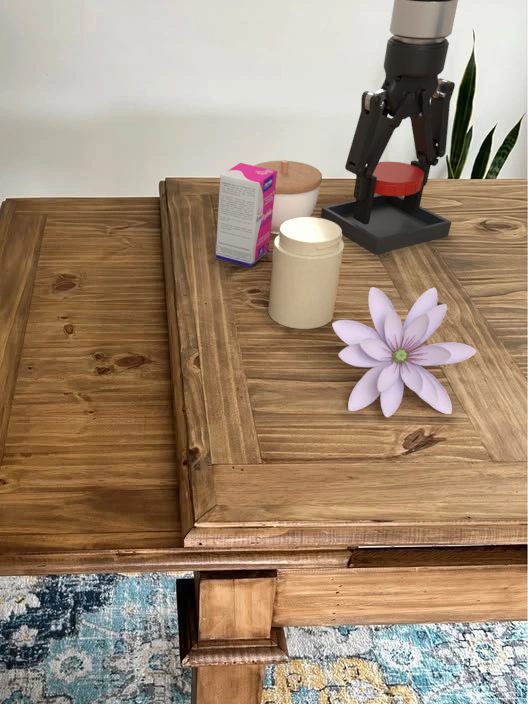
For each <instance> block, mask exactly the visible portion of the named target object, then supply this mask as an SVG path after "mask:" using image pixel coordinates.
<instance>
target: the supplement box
mask: <svg viewBox="0 0 528 704" xmlns="http://www.w3.org/2000/svg"><path fill="white" fill-rule="evenodd" d="M276 177H277V171H276V170H272V169H267V168H262V167H257V166H254V165H252V164H248V163H243V162H239V163H237V164H236V165H235V166H233V167H231V168H230V169H228V170H227V171H225V172H223V173H222V174H220V175H219V189H218V190H219V191H218V208H217V226H216V243H215V244H216V245H215V256H214V257H215V259H216V260H218V261H219V260H220V261H223V262H228V263H232V264H235V265H239V266H243V267H247V268H251V267H253V266H254V265H255V264H256V263H257V262H259V260H261V259H262V257H264V256H265V255H267V254H268V253H269V252H270V241H271V234H272V233H271V224H272V215H273V205H274V196H275V186H276Z"/></svg>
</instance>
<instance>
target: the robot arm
mask: <svg viewBox="0 0 528 704" xmlns="http://www.w3.org/2000/svg"><path fill="white" fill-rule="evenodd" d="M458 3H459V0H393V5H392V6H393V7H392V12H391V18H390V25H389V32H390V33H391V35H392V36H390V37H389V39H388V40H387V43H386V48H385V54H384V61H383V70H384V72H385V78H384V81H383V83H382V85H381V87H380V89H378V90H375V91H373V92H371V91H368V90H365V91H363V93H362V94H361V103H360V108H361V109H360V114H359V116H358V120H357V124H356V127H355V131H354V135H353V138H352V142H351V145H350V149H349V152H348V155H347V158H346V162H345V165H344V168H345V171H347V172H350V173H352V174H353V175H355V176H356V177H355V181H354V190H353V197H354V199H355V200H356V203H355V209H354V216H353V218H354V219H356V220H357V221H359V222H361V223H363V224H365V225H366V224H369V221H370V215H371V210H372V204H373V198H374V195H375V193H374V192H375V186H376V180H377V177H375V176H373V173H374V171H375V169H376V167H377V165H378V163H379V162H380V160H381V159H382V156H383V154H384V152H385V150H386V148H387V147H388V143H389V142H390V140H391V138H392V136H393V134H394V132H395V130H396V129H397V128H400V126H401V124H402V122H403V120H406V119H408V118H409V119H410V125H411V131H412V137H413V143H414V149H415V157H416V160H411V161H410V164H411V165H414V166H416V167H418V168H420V169H421V170H422V171H423V172H424V177H423V182H422V187H421V190H420V191H418V192H417V193H415V194H411V195H406V196H403V198H404V200H403V205H402V206H403V207H405V208H407V209H409V210H411V211H413V212H418V211H419V207H420V206H421V202H422V197H423V192H424V188H425V186H426V185H427V183H428V181H429V175H430V169H431V166H432V167H436V166H437V165H438V163H439V161H440V160H439V158H440V159H442V158H443V157H444V156H445V155H446V153H447V141H448V131H449V130H448V129H449V118H450V106H451V100H452V96H453V93H454V90H455V87H456V84H455V82H453V81H451V80H448V79H444V78H441V77H439V75H440V74H441V73H442V72H443V71H444V69H445V64H446V60H447V56H448V51H449V50H448V49H449V46H450V42H449V40H448V37H449V36H450V35H452V32H453V28H454V23H455V17H456V12H457V9H458V8H457V7H458ZM388 115H389V116H390V117H388ZM366 166H367V167H366Z"/></svg>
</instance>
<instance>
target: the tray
mask: <svg viewBox="0 0 528 704" xmlns="http://www.w3.org/2000/svg"><path fill="white" fill-rule="evenodd" d="M403 200H404V196H385V195H379V194H374V198H373V204H372V210H371V215H370V221H369V224H366V225H365V224H363V223H361V222H359V221H357V220H356V219H354V218H353V216H354V209H355V203H356V199H354V200H353V199H352V200H348V201H344V202H340V203H336V204H331V205H327V206H323V207H321V211H320V218H322V219H326V220H329V221H332V222H334V223H336V224H337V225H338V226H340V228H341V230H342V235H343V236H344V237H345V238H348V239H349V240H351V241H352V242H353V243H356V244H357V245H359V246H361V247H362V248H364V249H365V250H367V251H369V252H370V253H372V254H374V255H380V254H384V253H388V252H392V251H395V250H400V249H404V248H406V247H409V246H410V247H411V246H414V245H418V244H422V243H425V242H430V241H434V240H437V239H441V238H444V237H448V236H449V234H450V233H449V232H450V229H451V226H452V221H451V220H449V219H447V218H444V216H441V215H439V214H437V213H435V212H433V211H431V210H429V209H427V208H425V207H423V206H421V205H420V207H419V211H418V212H413V211H411V210H409V209H407V208H405V207H403V206H402V205H403Z"/></svg>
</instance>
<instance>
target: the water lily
mask: <svg viewBox="0 0 528 704" xmlns="http://www.w3.org/2000/svg"><path fill="white" fill-rule="evenodd" d="M438 297H439V295H438V290H437V288H436V287H431V288H429V289H427V290H426V291H424V292H423V293H422V294H421V295H420V296H419V297H418V298H417V300H416V301H414V304H413V305H412V306H411V308H410V310H409V312H408V314H407V315H406V318H405V320H404V321H403V322H402V319H401V316H400V315H398V313H397V312H396V310H395V307H394V305H393V303H392V301H391V300H390V298H389V297H388V296H387V295H386V294H385V292H383V291H382V290H381V289H379V288H378V287H376V286H375V287H374V286H371V287H370V289H369V292H368V299H367V300H368V303H367V304H368V311H369V315H370V317H371V320H372V323H373V325H374V328H375V329H374V328H373V327H370V326H369V325H366V324H364V323H361V322H360V321H356V320H350V319H341V320H335V321H334V322H332V323H331V325H332V329H333V331H334V333H335V334H336V335H337V336H338V338H339V339H340V340H341V341H342V342H344V343H345V344H346V345H348V346H346V347H344V348H342V349H341V351H340V352H339V353H338V357H339V359H341V360H342V362H344V363H346V364H348V365H351V366H353V367H357V368H370V369H369V370H368V371H367V372H365V373H364V374H363V376H362V377H361V378H360V379H359V381H358V382H357V383H356V384H355V386H354V387H353V389H352V390H351V392H350V396H349V399H348V402H347V410H348V411H349V412H356V411H361V410H362V409H364V408H366V407H368V406H369V405H371V404H372V403H373V402H374V401H376V400H377V399H378V398H379V397H380V407H381V411H382V413H383V416H384V417H385V418H389V417H391V416H393V415H394V414H395V413H396V412H397V410H398V408H399V406H400V405H401V402H402V400H403V395H404V390H405V386H407V388H409V390H411V391H413V392H415V394H416V395H417V396H418V397H419V398H420V399H421V400H423V401H424V402H426V404H428V405H429V406H430V407H432V408H433V409H434V410H436V411H438V412H440V413H442V414H445V415H451V414H452V412H453V406H452V401H451V398H450V396H449V393H448V391H447V390H446V389H445V387H444V386H443V384H441V382H440V381H439V380H438V379H437V378H436V376H434V375H433V373H431V372H430V371H428V370H427V369H426V368H425V367H426V366H427V367H428V366H429V367H430V366H443V365H444V366H445V365H452V364H457V363H460V362H464V361H466V360H469V358H472V357H473V356H475V354H477V350H476V349H475V348H474V347H473V346H471V345H468V344H465V343H462V342H455V341H447V342H437V343H431V344H428V345H427V344H423V343H425V342H426V341H427V340H428V339H429V338H430V337H431V336H432V335H433V334H434V333H435V332H436V331H437V329H438V328H439V327H440V326H441V324H442V323H443V321H444V319H445V316H446V314H447V309H448V305H447V304H446V303H445V304H444V303H442V304H439V305H438ZM421 344H423V345H421ZM420 345H421V346H420ZM423 366H424V367H423Z"/></svg>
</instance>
